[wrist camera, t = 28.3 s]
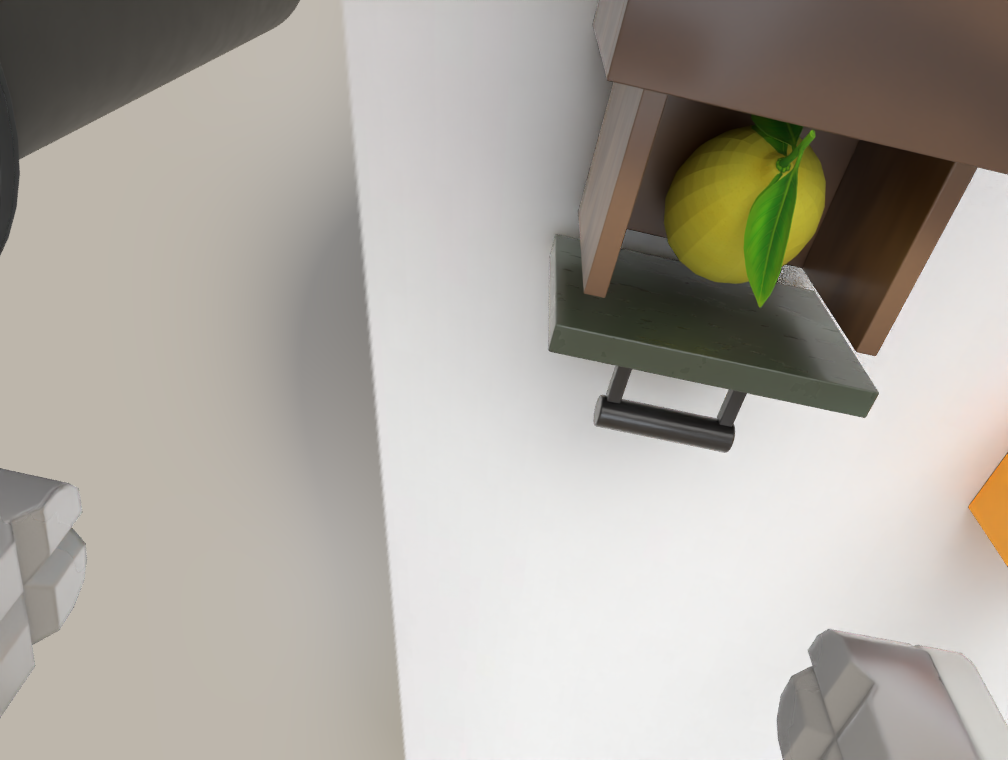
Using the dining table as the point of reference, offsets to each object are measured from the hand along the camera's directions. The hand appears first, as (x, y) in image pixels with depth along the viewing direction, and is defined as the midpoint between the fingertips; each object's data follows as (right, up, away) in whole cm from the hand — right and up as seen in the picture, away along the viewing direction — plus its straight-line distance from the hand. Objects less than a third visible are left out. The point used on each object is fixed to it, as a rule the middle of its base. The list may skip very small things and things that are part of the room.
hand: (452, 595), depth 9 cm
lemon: (+9, +8, +25) cm, 28 cm away
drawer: (+10, +11, +26) cm, 30 cm away
